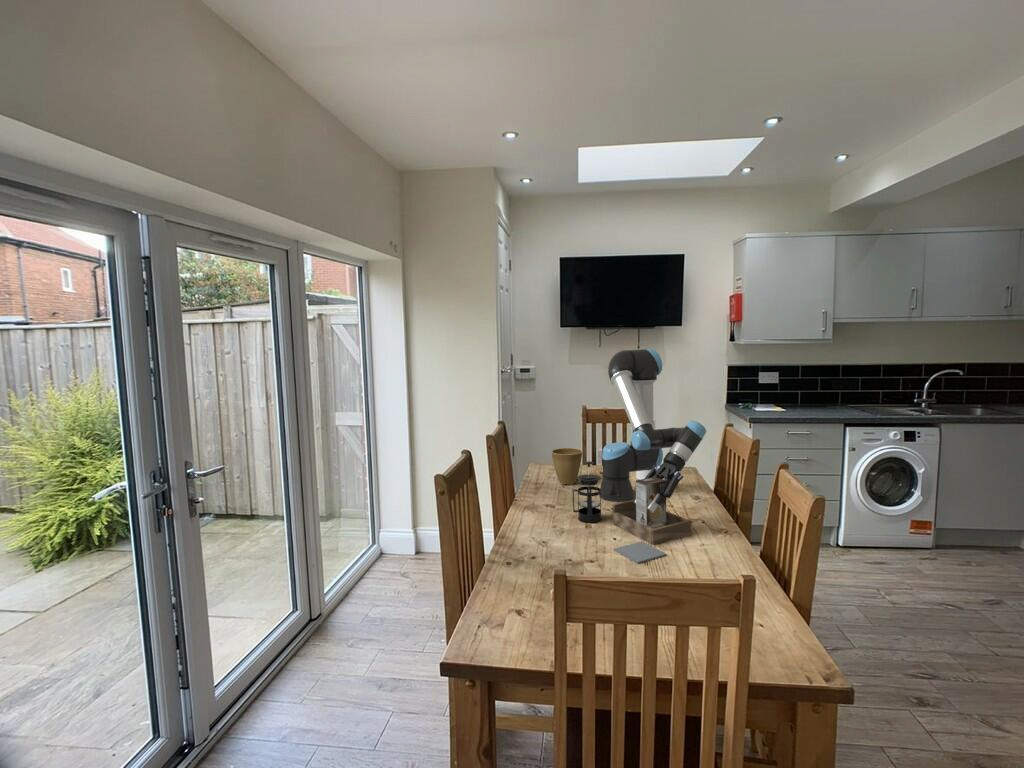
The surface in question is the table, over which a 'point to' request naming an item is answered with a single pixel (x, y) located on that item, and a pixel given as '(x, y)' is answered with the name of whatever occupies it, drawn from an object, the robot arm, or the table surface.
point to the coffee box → (649, 502)
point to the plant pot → (567, 464)
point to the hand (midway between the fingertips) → (643, 507)
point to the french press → (588, 498)
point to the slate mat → (640, 552)
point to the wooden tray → (626, 520)
